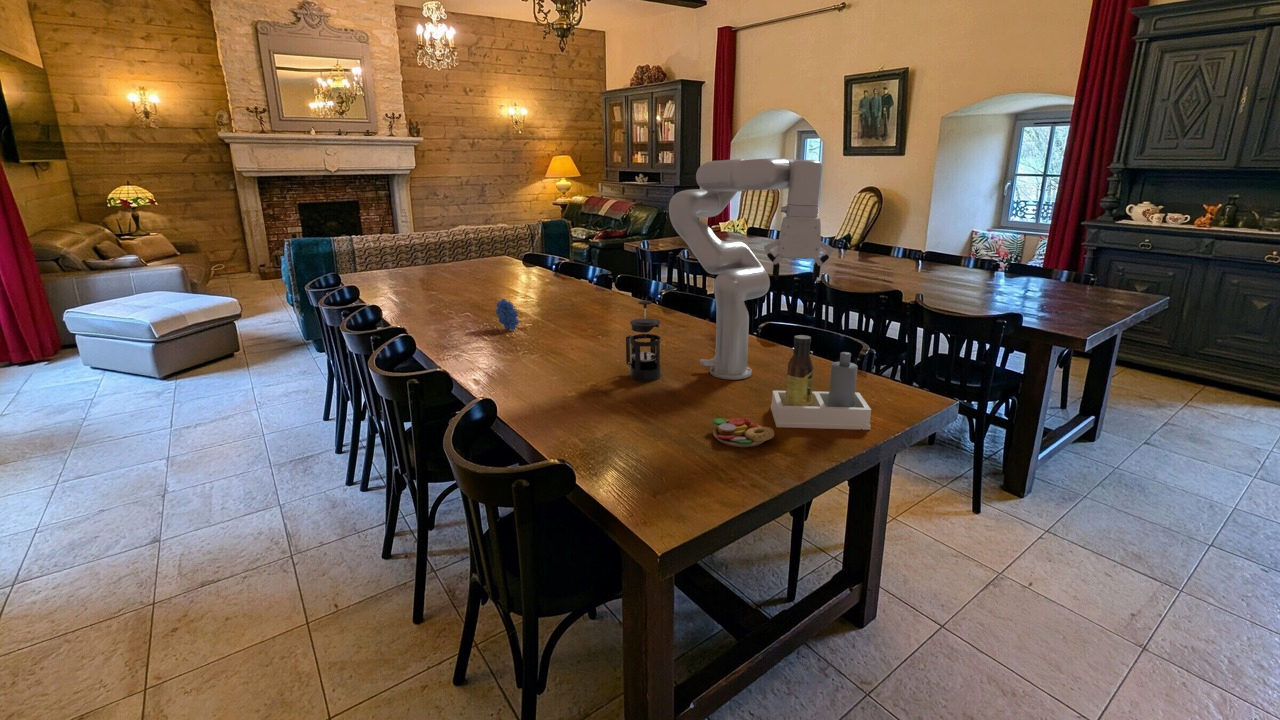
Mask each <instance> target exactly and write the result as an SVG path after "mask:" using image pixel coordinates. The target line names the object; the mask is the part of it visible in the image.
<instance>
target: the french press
mask: <svg viewBox="0 0 1280 720" xmlns="http://www.w3.org/2000/svg"><path fill="white" fill-rule="evenodd" d="M637 304H639V305H643V309H644V317H642V318H635V319H632V320H630V321H629V324H630V325H631V331H633V332H636V333H640V334H635V335H627V336H625V352H626V353H625V356H626V359H625V361H626V365H628V366H630V375H629V378H630V379H632V380H633V379H634V381H636V380H637V381H638V382H655V381H658V380H659V378H660V379H661V378H662V373H661V370H662V369H661V368H662V367H661V357H660V356H661V352H660V351H661V349H660V348H661V346H660V345H661V343H662V342H661V336H659V335H657V334H652V333H649V332H650V331H652V330H653V329H654V328H659V327H660V325H661V323H662V322H661V320H659V319H656V318H648V317H646V316H647V312H646V311H647V310H646V309H647V307H648V305H651V304H653V302H652V301H651V300H640V301H638V302H637ZM640 339H644V341H637V340H640ZM647 339H649V340H650V341H647ZM641 347H642V348H643V347H644V351H641ZM647 347H650V351H647ZM657 379H658V380H657ZM654 380H655V381H654Z"/></svg>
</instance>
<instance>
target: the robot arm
mask: <svg viewBox="0 0 1280 720" xmlns="http://www.w3.org/2000/svg"><path fill="white" fill-rule="evenodd" d="M822 171H823V165H822V163H821V161H819V160H814V159H796V158H789V157H788V158H787V157H785V158H783V157H782V158H779V157H778V158H777V157H774V158H772V157H770V158H756V159H755V158H754V159H752V158H751V159H744V158H736V159H724V160H723V159H722V160H711V161H706V162H705V163H702V164H701V165H700V166H699V167H698V169H697V171H696V175H695V179H696V184H698V186H699V187H700V189H697V188H696V189H685V190H681V191H678V192H676V193H675V194H674V195H673V196H672V197H671V199H670V200H669V204H668V214H669V220H670V222H671V226H672V227H673V229H674V230H675V232H676V233H677V234H678V235H679V236H680V238H681V239H682V240H683V241H684V242H685V243H686V244H687V246H688V248H689V249H690V250H691V252H692V254H693V255H694V257H695V259H697V260H698V263H699V264H700V265H701V266H702V268H703V269H704V271H705V272H706V273H708V274H710V275H717V276H716V278H715V279H714V282H713V293H714V298H715V307H716V311H715V312H716V320H715V321H716V322H715V323H716V324H715V325H716V326H715V328H716V329H715V330H716V331H715V354H714V355H713V358H710V359H705V358H704V359H703V358H700V364H699V365H700V366H702V367H703V366H704V368H709V373H710V375H711V376H712V377H715V378H719V379H723V380H734V381H735V380H742V379H743V380H744V379H747V378H749V377H751V376H752V374H753V370H752V368H751V367H749V366H748V352H749V351H748V349H749V348H748V347H749V333H750V332H749V327H750V315H749V311H748V308H747V306H746V303H745V301H748V300H749V301H750V300H753V299H757V298H761V297H763V296H765V295H766V294H767V293H768V292H769V290H770V286H771V281H770V276H769V274H768V272H767V271H766V269H765V267H764V266H763V264H762V263H761V262H760V261H759V259H758V258H757V256H756V255H755V254H754V252H753V251H752V250H751V248H750V247H749V246H748V245H747V244H746V243H744V242H743V241H740V240H737V239H736V240H735V239H732V240H723V239H722V240H721V239H720V238H719V237H718V236H717V235H716V234H715V232H714V231H713V229H712V228H711V227H710V226H709V225H707V224H706V223H705V222H703V221H701V220H700V219H701V218H702V219H703V218H704V219H705V218H712V217H713V218H714V217H716V216H719V215H720V214H721V213H722V212H723V211H724V210H725V208H726V207H727V206H728V204H729V203H730V202H731V201H732V200H733V198H734V197H735V196H736V194H737V193H739V192H740V193H741V192H744V191H769V190H771V191H772V190H773V191H774V190H788V191H787V203H786V205H785V206H781V207H780V213H784V214H785V216H783V217H782V221H781V224H780V225H781V226H780V230H779V236H778V239H776V240H773V241H772V242H769V243H767V244H765V245H763V249H764V252H765V254H766V256H767V257H768V259H769V260H770V261H771V262H772V265H773V266H772V276H773V277H774V280H777V281H778V280H779V279H780V278H779V275H780V268H781V267H780V261H781V260H783V259H800V260H801V259H803V260H807V259H809V260H812V259H813V260H814V262H815V263H814V264H813V268H812V269H813V270H812V281H814V282H817V281H818V278H820V275H821V274H820V273H821V266H822V265H823V264H824V263H825V262H826V261H828V260H829V258H830V257H831V255H832V253H833V252H834V250H835V249H834V248H833V247H832V246H831V245H829V244H826V243H825V242H823V241H821V235H822V232H821V231H822V226H821V225H822V224H821V218H820V217H818V210H819V209H818V208H819V201H820V193H821V192H820V190H821V183H822V182H821V181H822V173H823V172H822ZM775 247H777V254H776V255H775V256H774V254H773V253H772V249H773V248H775ZM821 248H822V249H823V250H825V253H824V254H823V255H822V256H820V257H819V255H820V252H821Z"/></svg>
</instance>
